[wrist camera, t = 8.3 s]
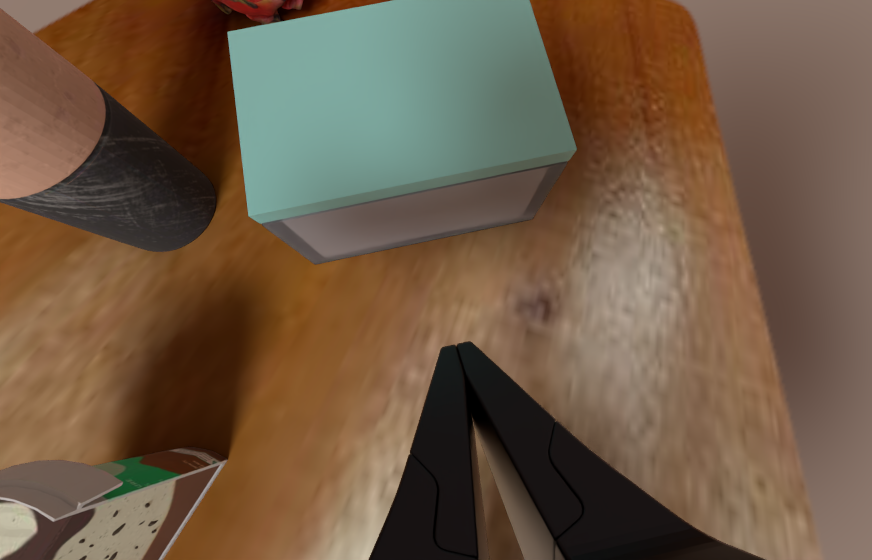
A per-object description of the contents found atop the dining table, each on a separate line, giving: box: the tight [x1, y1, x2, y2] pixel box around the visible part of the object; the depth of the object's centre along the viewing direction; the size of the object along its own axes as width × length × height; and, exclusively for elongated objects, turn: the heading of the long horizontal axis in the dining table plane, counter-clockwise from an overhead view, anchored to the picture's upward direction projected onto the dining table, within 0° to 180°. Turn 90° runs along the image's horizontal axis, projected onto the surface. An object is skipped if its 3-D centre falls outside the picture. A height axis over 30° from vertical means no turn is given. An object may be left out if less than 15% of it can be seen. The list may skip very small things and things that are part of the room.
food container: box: [0, 447, 228, 560], centre depth 15 cm, size 12×6×10 cm, turn 150°
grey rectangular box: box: [262, 161, 568, 264], centre depth 21 cm, size 10×16×7 cm, turn 102°
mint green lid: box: [227, 0, 577, 224], centre depth 17 cm, size 10×16×1 cm, turn 102°
